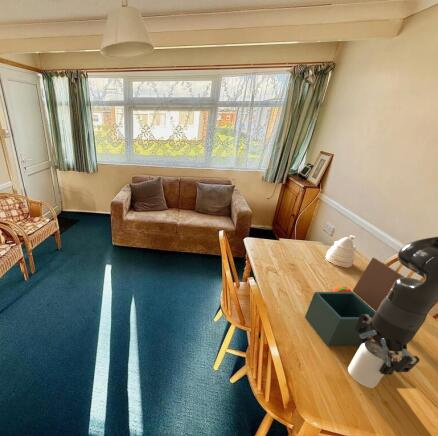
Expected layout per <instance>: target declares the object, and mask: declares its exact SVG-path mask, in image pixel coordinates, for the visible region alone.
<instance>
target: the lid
mask: <svg viewBox="0 0 438 436" xmlns="http://www.w3.org/2000/svg"><path fill="white" fill-rule="evenodd" d="M401 277H405V276H404V275H402V274H401V273H399V272H398V271H396V270H395V269H393V268H391V267H390V266H388V265H387V264H385V263H383V262H382V261H380V260H379V259H377V258H376V257H371V259H370V261H369V263H368V264H367V266H366V267H365V268H364V271H363V272H362V274H361V276H360V278H359V279H358V281H357V283H356V284H355V286H354V287H353V289H352V292H353V293H354V294H356V295H357V296H358V297H359V298H360V299H361V300H363V301H364V302H365V303H366V304H367V305H368V306H370V307H371V308H372V309H373V310H374V311H375V312H376V311H377V309H378V308H379V306H380V304H381V302H382V301H383V299H384V298H385V297H386V296H387V294H388V293H389V291H390V289H391V287H392V286H393V284H394V282H395V281H396V280H397V279H398V278H401Z"/></svg>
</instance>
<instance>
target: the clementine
mask: <svg viewBox="0 0 438 436" xmlns="http://www.w3.org/2000/svg"><path fill="white" fill-rule="evenodd" d="M333 292H353V290H351V289H350V288H349V287H347V286H345V285H338V286H335V288H333Z"/></svg>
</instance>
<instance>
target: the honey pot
mask: <svg viewBox="0 0 438 436" xmlns="http://www.w3.org/2000/svg"><path fill="white" fill-rule="evenodd" d="M354 239H356V235H353V234H350V235H349V237H348V236H347V237H343V238H341V239H339V240H335V241H334V244H333V245H332V246H331V247H330V248H329V249H328V250H327V252H326V254H325V257H326V259H327V260H328V261H329V262H331V263H333V264H335V265H338V266H342V267H350V266H351V267H352V266H353V263H354V262H355V260H356V259H355V250H356V249H357V247H356V245H355V244H354V243H353V242H354V241H353V240H354ZM326 259H325V260H326ZM327 260H326V261H327ZM328 261H327V262H328ZM329 262H328V263H329ZM331 263H330V264H331ZM333 264H332V265H333ZM335 265H334V266H335ZM338 266H337V267H338ZM342 267H341V268H342ZM351 267H350V268H351Z"/></svg>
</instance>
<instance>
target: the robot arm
mask: <svg viewBox="0 0 438 436" xmlns="http://www.w3.org/2000/svg"><path fill="white" fill-rule="evenodd" d="M397 260H398V262H399V263H400V264H401V265H402V266H404V267H405V268H406V269H408V270H410V271H411V272H414V273H415V274H417V275H418V276H420V277H422V278H424V280H420V279H417V278H413V277H407V276H404V277H401V278H398V279H397V280H396V281H395V282H394V284H393V286H392V287H391V289H390V291H389V293H388V294H387V296H386V297H385V298H384V299H383V301H382V302H381V304H380V306H379V308H378V309H377V311H375V312H376V313H375V315H374V316H373V318H372V316H371V315H370V314H363V315H360V317H359V319H358V322H357V324H356V327H355V330H356V331H357V332H359V334H360V335H359V336H360V338H359V340H358V342H357V346H356V347H357V349H359V347H360V346H361V344H363V343H365V342H366V341H371V340H370V339H371V338H373V339H372V341H374V342H377V343H378V344H379V345H380V347H381V348H382V349H383V355H384V356H385V362H386V363H384V364H383V365H382V367H381V368H380V370H379V372H380V373H381V374H384V376H392V375H393V374H394V372H396V373H409V372H410V371H411V370H412V369H413V368H414V367H415V366H416V365H417V364H418V363H420V360H421V359H420V358H419V357H418V356H417V355H413V354H411V353H410V351H409V350H408V344H409V343H410V342H411V341H412V340H413V339H414V338H415V336H416V335H417V333H418V332H419V330H420V328H421V327H422V326H423V325H424V323H425V321H426V319H427V316H428V315H429V312H430V311H431V310H432V309H433V307H434V305H435V304H436V302H437V301H438V236H432V237H426V238H422V239H417V240H414V241H411V242H409V243H407V244H405V245H404V246H403V247H402V248H400V249H399V251H398V253H397ZM369 325H370V329H371V331H368V332H367V329H368V327H369ZM389 351H390V352H391V353H389Z"/></svg>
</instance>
